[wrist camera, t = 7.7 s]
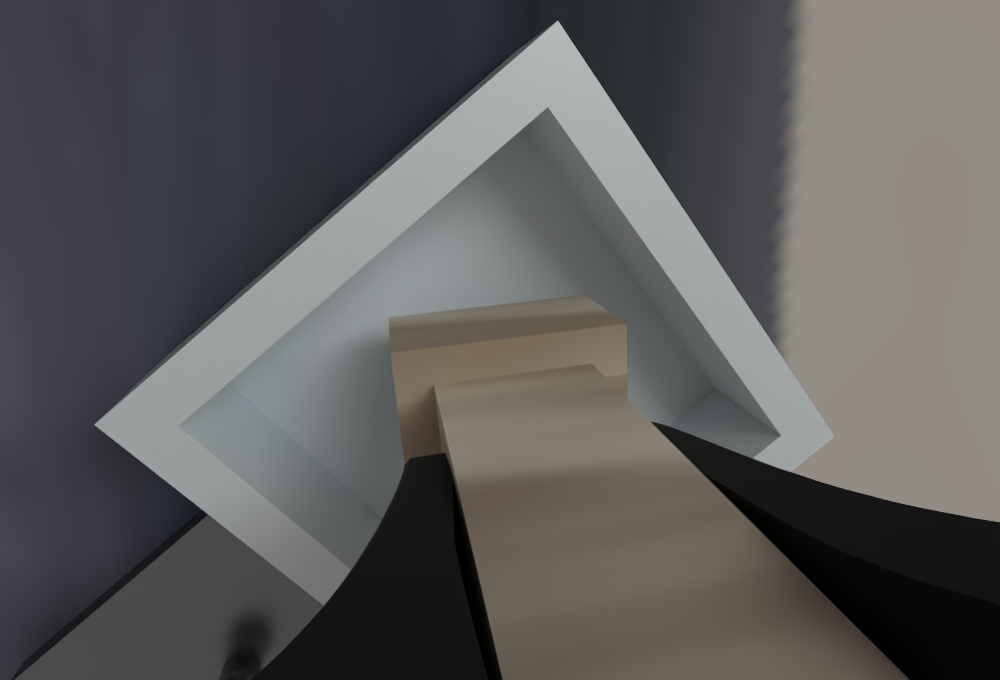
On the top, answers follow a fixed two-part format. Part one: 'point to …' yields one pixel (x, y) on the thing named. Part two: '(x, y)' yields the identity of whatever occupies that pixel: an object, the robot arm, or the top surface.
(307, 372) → the tray
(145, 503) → the top surface
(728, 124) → the top surface
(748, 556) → the strut
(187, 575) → the stud plate
